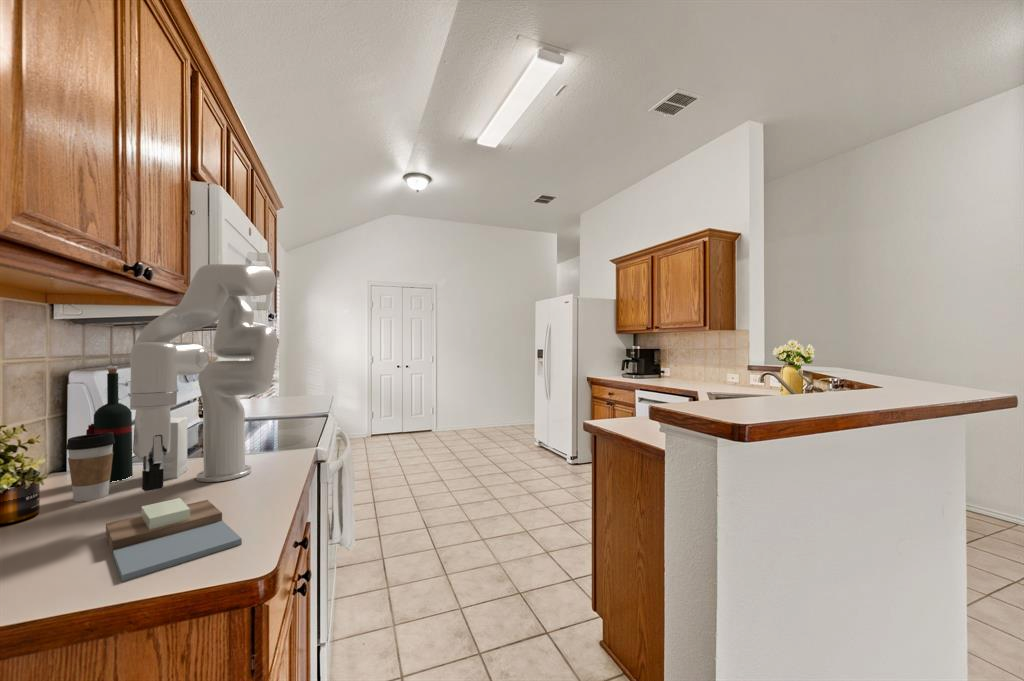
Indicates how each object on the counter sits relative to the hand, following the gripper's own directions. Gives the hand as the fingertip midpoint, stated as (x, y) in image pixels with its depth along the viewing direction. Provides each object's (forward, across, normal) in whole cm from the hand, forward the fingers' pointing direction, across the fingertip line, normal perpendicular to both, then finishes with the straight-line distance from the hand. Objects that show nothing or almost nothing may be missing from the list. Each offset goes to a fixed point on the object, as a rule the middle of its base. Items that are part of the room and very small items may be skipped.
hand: (152, 488), depth 89 cm
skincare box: (+5, -35, +9) cm, 36 cm away
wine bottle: (+5, -43, -3) cm, 43 cm away
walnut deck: (+6, +10, +1) cm, 12 cm away
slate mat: (+7, +21, +1) cm, 22 cm away
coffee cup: (+6, -28, -7) cm, 29 cm away
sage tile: (+4, +10, +1) cm, 10 cm away
